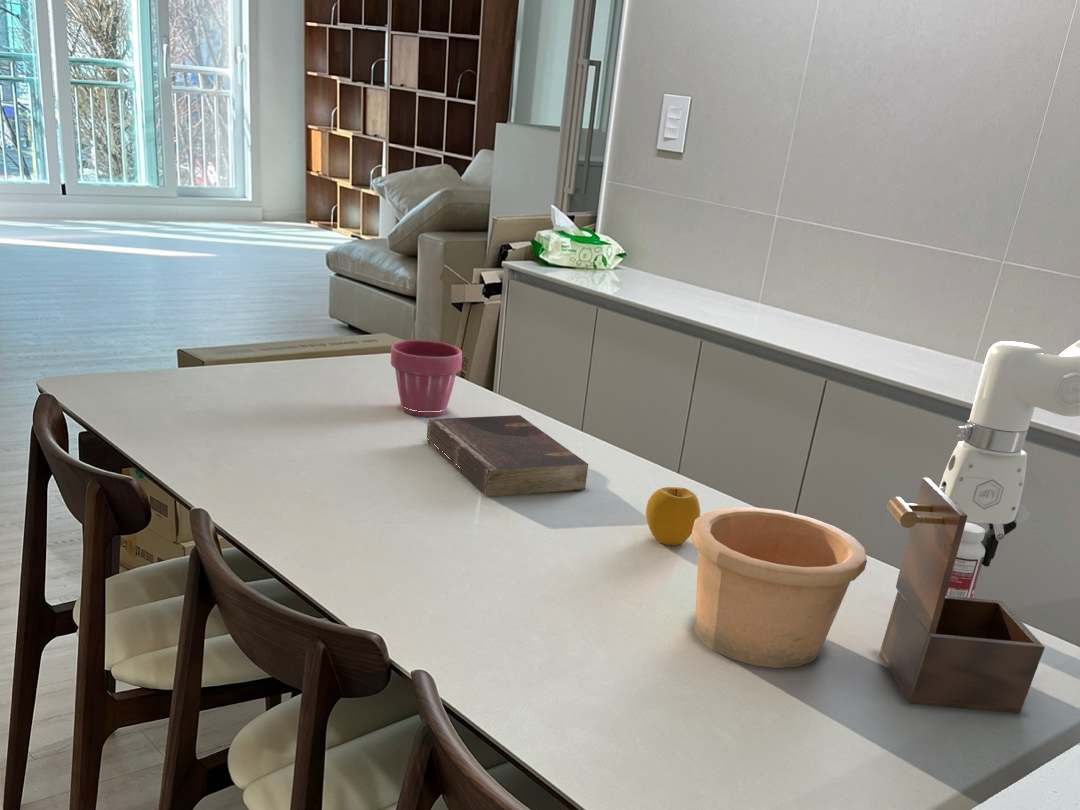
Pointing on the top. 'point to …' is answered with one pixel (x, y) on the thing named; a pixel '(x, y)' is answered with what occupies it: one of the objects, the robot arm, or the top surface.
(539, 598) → the top surface
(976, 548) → the pill bottle
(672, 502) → the apple
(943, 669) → the chest
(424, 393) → the flower pot
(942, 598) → the lid
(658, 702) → the top surface
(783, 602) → the pottery
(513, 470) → the hardback book
